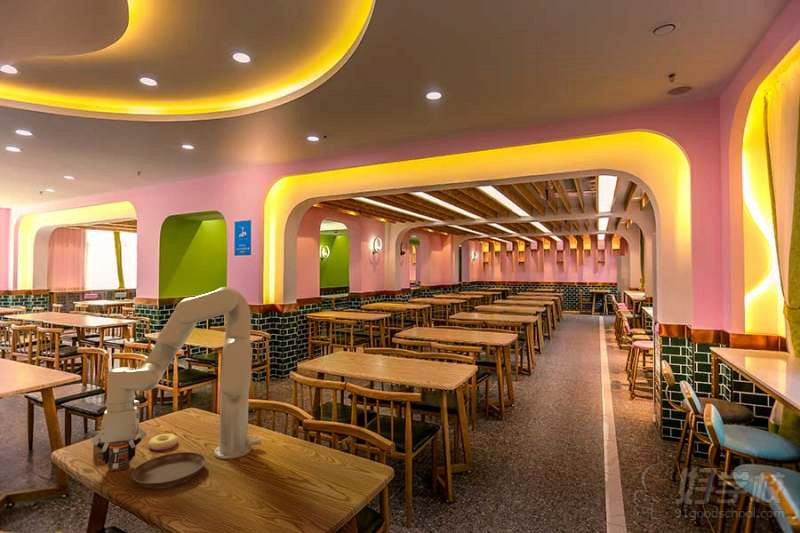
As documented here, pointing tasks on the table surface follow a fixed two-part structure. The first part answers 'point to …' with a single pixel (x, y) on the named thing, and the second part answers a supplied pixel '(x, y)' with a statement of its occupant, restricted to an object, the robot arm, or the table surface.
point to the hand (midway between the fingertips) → (119, 459)
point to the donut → (163, 442)
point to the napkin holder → (96, 450)
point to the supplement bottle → (118, 455)
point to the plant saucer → (168, 470)
